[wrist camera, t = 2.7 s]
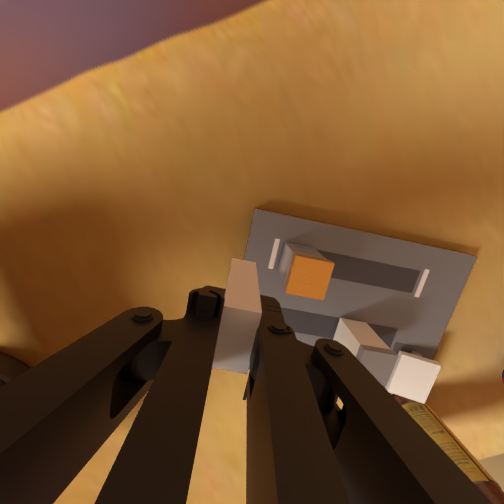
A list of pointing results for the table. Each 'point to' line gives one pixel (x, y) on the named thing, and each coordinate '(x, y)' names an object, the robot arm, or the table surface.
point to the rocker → (413, 376)
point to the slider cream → (367, 348)
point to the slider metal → (304, 271)
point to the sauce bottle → (453, 448)
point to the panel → (362, 281)
